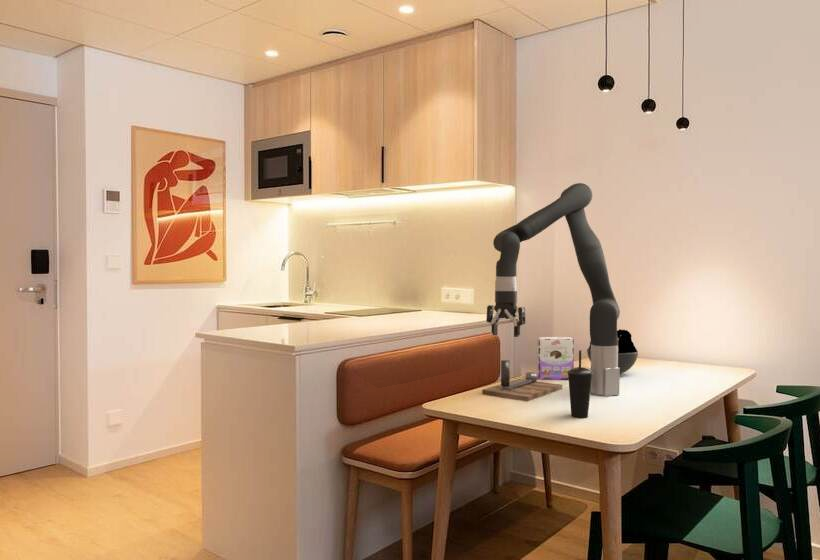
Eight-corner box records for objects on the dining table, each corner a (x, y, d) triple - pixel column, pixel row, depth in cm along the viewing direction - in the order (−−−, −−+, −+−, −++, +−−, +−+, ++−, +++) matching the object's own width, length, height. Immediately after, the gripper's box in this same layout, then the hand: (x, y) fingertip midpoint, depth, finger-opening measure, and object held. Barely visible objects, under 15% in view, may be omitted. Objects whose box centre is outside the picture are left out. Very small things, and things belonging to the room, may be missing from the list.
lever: (529, 379, 242) (529, 353, 241) (538, 380, 239) (538, 354, 239) (498, 389, 224) (498, 360, 224) (508, 390, 222) (508, 361, 221)
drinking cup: (588, 413, 198) (588, 348, 197) (596, 419, 190) (596, 352, 190) (563, 413, 198) (564, 348, 197) (570, 419, 190) (571, 352, 189)
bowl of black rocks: (642, 379, 252) (642, 332, 251) (589, 378, 255) (590, 331, 255) (632, 370, 272) (633, 326, 271) (584, 369, 275) (584, 325, 274)
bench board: (518, 382, 246) (518, 378, 246) (562, 388, 234) (562, 384, 234) (482, 394, 225) (482, 389, 225) (527, 401, 214) (527, 396, 214)
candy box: (571, 377, 257) (572, 336, 256) (573, 380, 251) (574, 338, 250) (536, 376, 258) (537, 336, 258) (538, 379, 252) (538, 338, 252)
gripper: (529, 289, 221) (528, 336, 222) (494, 288, 230) (493, 333, 231) (518, 290, 216) (518, 338, 216) (482, 289, 224) (482, 335, 225)
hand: (505, 335), depth 224 cm, fingers open, 8 cm apart
